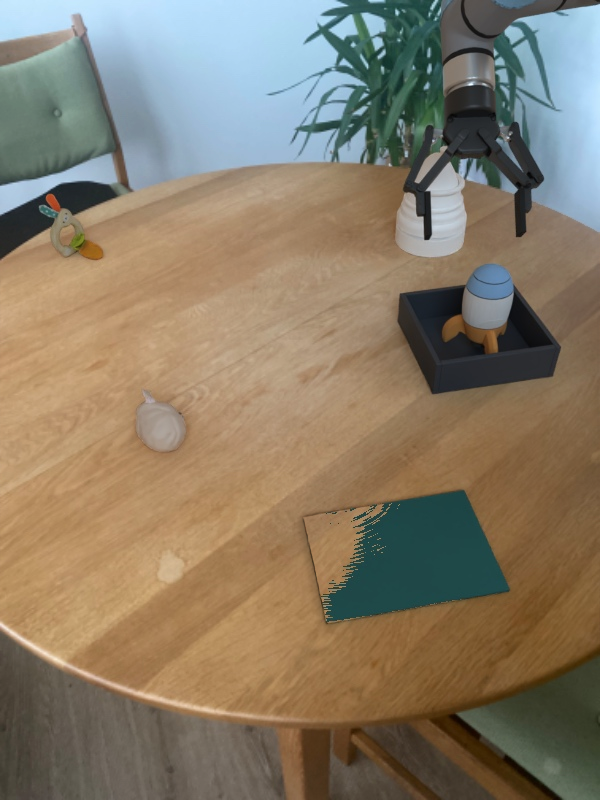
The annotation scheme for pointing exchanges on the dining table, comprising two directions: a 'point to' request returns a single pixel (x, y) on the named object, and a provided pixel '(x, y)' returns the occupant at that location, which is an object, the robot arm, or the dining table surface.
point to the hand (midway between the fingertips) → (474, 236)
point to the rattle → (64, 220)
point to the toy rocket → (483, 308)
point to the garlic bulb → (159, 424)
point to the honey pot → (434, 214)
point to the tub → (461, 361)
